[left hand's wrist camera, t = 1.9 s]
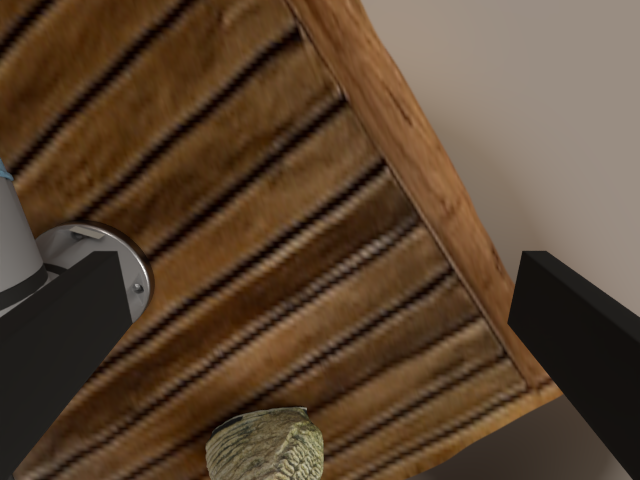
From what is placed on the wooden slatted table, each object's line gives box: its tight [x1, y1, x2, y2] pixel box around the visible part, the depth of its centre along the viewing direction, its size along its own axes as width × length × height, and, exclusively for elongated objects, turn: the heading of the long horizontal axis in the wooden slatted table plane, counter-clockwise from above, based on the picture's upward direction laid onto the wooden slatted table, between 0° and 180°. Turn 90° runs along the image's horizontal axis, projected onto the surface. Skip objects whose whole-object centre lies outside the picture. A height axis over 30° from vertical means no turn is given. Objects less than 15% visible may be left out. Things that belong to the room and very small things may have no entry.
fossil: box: [206, 407, 324, 480], centre depth 52 cm, size 9×18×15 cm, turn 121°
